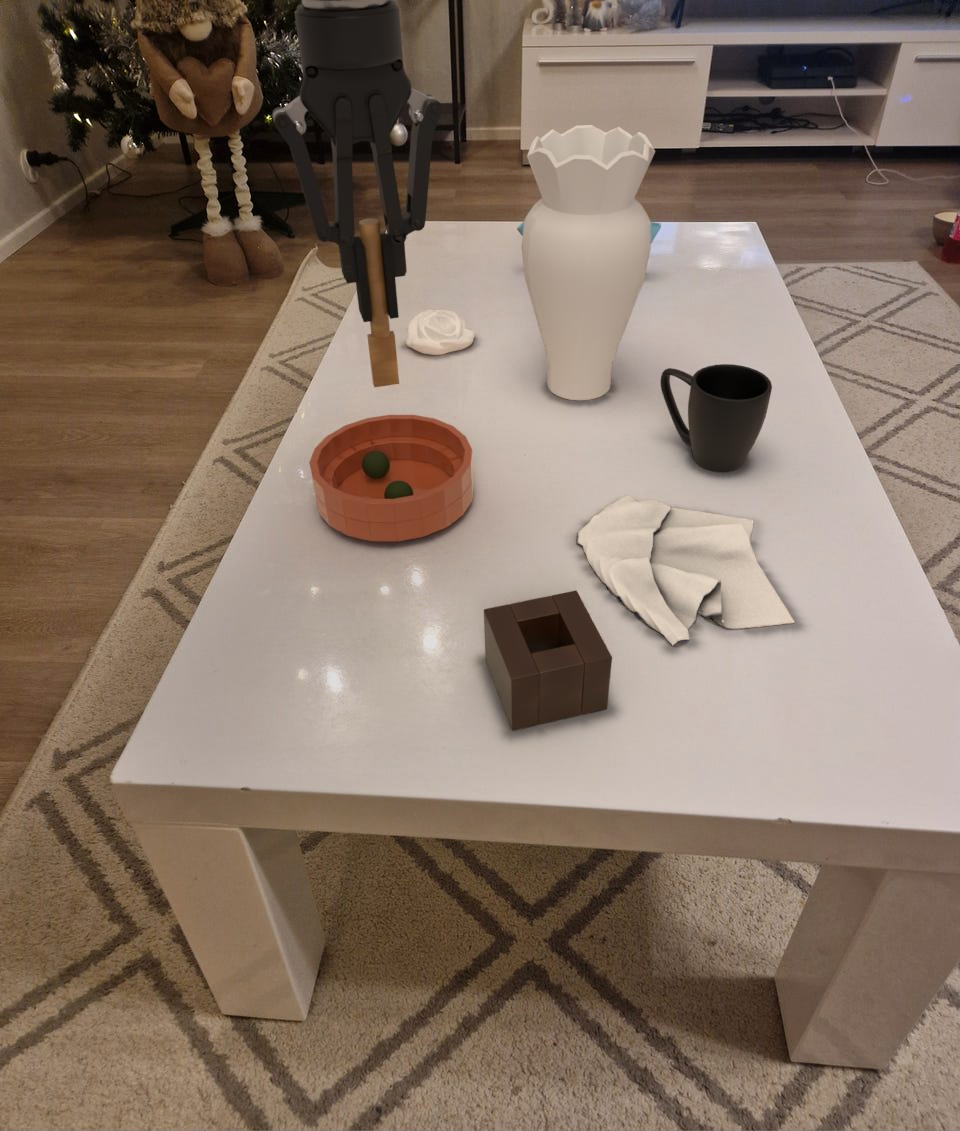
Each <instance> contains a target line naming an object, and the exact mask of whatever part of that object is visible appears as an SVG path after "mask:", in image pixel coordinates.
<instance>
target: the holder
mask: <svg viewBox="0 0 960 1131" xmlns="http://www.w3.org/2000/svg"><path fill="white" fill-rule="evenodd" d="M483 632H484V634H483V635H484V657H485V658H484V659H485V663H486V665H487V668H488V671H489V674H490V677H491V679H492V681H493V684H494V687H495V690H496V692H497V695H498V697H499V701H500V703H501V706H502V709H503V711H504V714H505V717H506V719H507V722H508V725H509V727H510V730H511V731H512V732H513V731H517V730H522V729H525V728H530V727H535V726H538V725H542V724H546V723H551V722H556V721H559V720H564V719H568V718H572V717H578V716H580V715H581V716H582V715H587V714H591V713H595V712H600V711H604V710H608V702H609V694H610V684H611V672H612V663H613V656H612V654H611V653H610V651H609V649H608V647H607V645H606V643H605V641H604V639H603V638H602V635H601V633H600V632H599V630H598V628H597V626H596V624H595V623H594V621H593V618H592V617H591V614H590V613H589V611H588V610H587V607H586V605H585V603H584V601H583V600H582V598H581V596H580V594H579V592H578V590H575V589H574V590H570V591H565V592H561V593H556V594H552V595H547V596H542V597H537V598H533V599H527V600H523V601H518V602H513V603H510V604H509V603H507V604H503V605H498V606H493V607H487V608H484V609H483Z"/></svg>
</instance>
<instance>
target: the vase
mask: <svg viewBox="0 0 960 1131" xmlns="http://www.w3.org/2000/svg"><path fill="white" fill-rule="evenodd" d="M655 153H656V150H655V148H654V147H653V145H652V144H651V141H650V140H649V138H648V136H647V135H646V134H644V133H642V132H640V131H638V132H637V133H636V134H635V135H632V134H630V133H629V132H628V131H626V130H624V129H623V128H622V127H620V126H617V127H614V128H612V129H611V130H608V131H606V132H605V131H604V130H602V129H600V128H598V127H596V126H594V125H593V124H583V125H581V124H580V125H575V126H574V127H572V128H570V129H568V130H567V131H564V132H563V133H560V132H558V131H557V130H555V129H551V130H549V131H548V132H547V133H546V134H544V135H543V136H541V137H540V136H539V135H536V136H535V137H534V139H533V140H532V142H531V143H530V147H529V149H528V153H527V155H526V158H527V160H528V163H529V166H530V168H531V172H532V174H533V176H534V179H535V182H536V185H537V187H538V190H539V193H540V196H541V198H539V200H538V201H536V203H534V205H532V207H531V209H530V210H529V212H528V213H527V214H526V217H525V218H524V220H523V222H524V227H523V236H522V239H521V240H522V241H521V256H522V266H523V267H522V268H523V276H524V280H525V284H526V289H527V292H528V295H529V298H530V302H531V305H532V309H533V313H534V317H535V321H536V324H537V327H538V331H539V334H540V338H541V341H542V345H543V349H544V353H545V356H546V362H547V374H546V376H547V378H546V380H547V382H546V383H547V388H548V390H549V391H550V392H551V393H552V394H554V395H555V396H557V397H560V398H562V399H566V400H570V401H590V400H595V399H597V398H600V397H602V396H604V395H606V394H607V393H608V392H609V390H611V386H612V385H611V384H612V373H613V372H612V370H613V364H614V359H615V357H616V355H617V352H618V350H619V347H620V344H621V341H622V339H623V336H624V333H625V331H626V328H627V326H628V323H629V320H630V317H631V315H632V313H633V310H634V307H635V305H636V302H637V299H638V297H639V295H640V292H641V289H642V286H643V284H644V281H645V278H646V275H647V269H648V264H649V258H650V253H651V248H652V247H651V245H652V243H651V227H650V222H651V219H650V217H649V215H648V213H647V212H646V210H645V208H644V206H643V205H642V204H641V203H640V202H639V201H638V199H636V195H637V194H638V191H639V189H640V186H641V184H642V182H643V180H644V178H645V176H646V173H647V171H648V169H649V166H650V165H651V162H652V160H653V158H654V155H655Z"/></svg>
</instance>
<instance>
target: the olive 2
mask: <svg viewBox="0 0 960 1131" xmlns="http://www.w3.org/2000/svg"><path fill="white" fill-rule="evenodd" d="M412 495H413V490H412V488H411V486H410V485H409V484H408V483H406V482H404V481H400V480H398V481H393V482H391V483H390V484H389V485H388V486H387V487H386V489H385V492H384V497H385V499H395V498H401V497H406V496H412Z"/></svg>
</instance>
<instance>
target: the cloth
mask: <svg viewBox="0 0 960 1131" xmlns="http://www.w3.org/2000/svg"><path fill="white" fill-rule="evenodd" d="M754 523H755V521H754V520H752V519H748V518H743V517H742V518H741V517H736V516H730V515H724V514H718V513H712V512H705V511H699V510H691V509H683V508H678V507H672V506H671V505H669V504H667V503H665V502H661V501H659V500H652V499H649V500H642V501H640V500H639V501H638V500H637V499H636V498H635V497H634V496H633V495H625V496H624V495H623V496H622V497H620V498H619V499H618V500H615V501H614V502H612V503H610V504H609V505H607V506H605V508H603V509H602V510H601V511H600V512H599V513H596V514H595V515H594V516H592V517H591V519H590V520H589V522H587V524H585V525H584V526H583V527H582V528H581V529H580V530H578V532H576V539H575V540H576V541H575V542H576V544H578V545H581V546H582V548H583V551H584V554H585V556H586V559H587V561H588V563H589V566H590V567H591V569H592V570H593V571H594V572H595V574H596V576H597V578H598V579H599V580H600V581H601V583H603V584H605V585H606V587H607V588H608V589H609V591H610V592H611V593H612V594H613V595H614V596H615V597H617V598H618V599H620V600H621V602H622V603H623V604H624V606H625V607H626V608H627V609H628V610H629V611H630V612H632V613H633V614H635V615H637V616H639V617H640V618H641V619H642V620H643V621H644V623H645V624H646V625H648V626H649V627H650V628H651V629H652V630H654V631H656V632H658V633H660V634H662V635H663V636H664V638H666V640H667V641H668V642H669V643H670V644H671V645H672V646H674V645H675V644H677V643H678V642H679V641H684V640H685V641H690V634H689V630H690V628H691V627H692V625H693V624H694V623H695V622H696V619H697V614H699V615H701V616H703V617H704V618H708V619H711V620H713V621H714V622H715V623H716V624H718V625H720V626H722V627H723V628H725V629H733V630H739V629H752V628H761V627H769V626H771V627H772V626H779V625H780V626H781V625H788V624H795V620H794V619H793V617H792V615H791V614H790V612H789V610H788V609H787V607H786V605H785V604H784V603H783V601H782V598H780V596H779V594H778V593H777V591H776V589H775V588H774V587H773V585H772V583H771V581H770V580H769V578H768V577H767V576H766V574H765V572H764V570H763V569H762V567H761V566H760V564H759V563H758V561H757V558H756V556H755V552H754V549H753V547H752V544H751V537H752V533H753V529H754Z"/></svg>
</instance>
